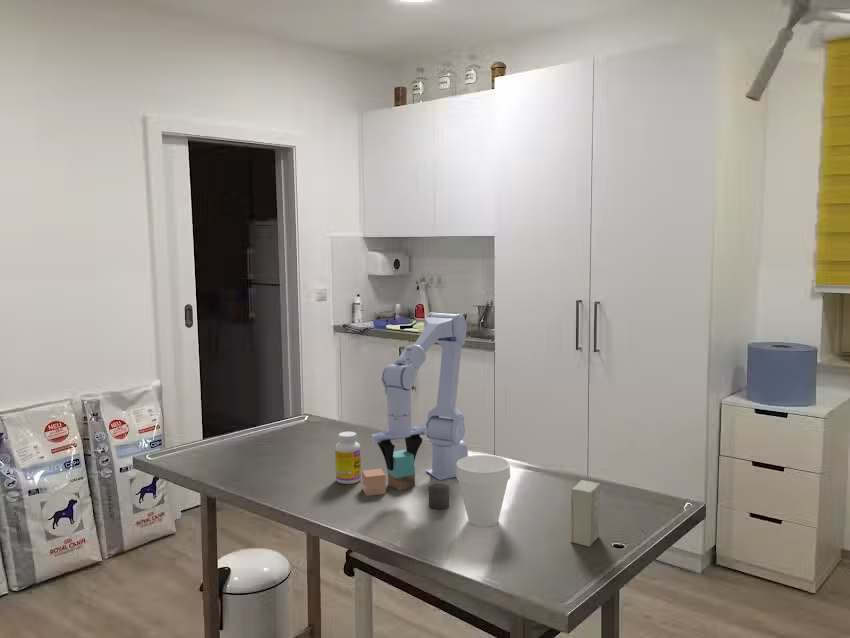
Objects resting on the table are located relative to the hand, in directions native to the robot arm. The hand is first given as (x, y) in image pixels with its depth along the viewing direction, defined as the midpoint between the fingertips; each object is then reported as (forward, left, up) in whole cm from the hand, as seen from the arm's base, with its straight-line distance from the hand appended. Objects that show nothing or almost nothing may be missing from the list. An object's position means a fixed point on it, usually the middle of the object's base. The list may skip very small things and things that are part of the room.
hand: (400, 467), depth 178 cm
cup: (-12, +20, -9) cm, 25 cm away
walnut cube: (-5, -10, -9) cm, 14 cm away
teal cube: (0, 0, -2) cm, 2 cm away
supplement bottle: (+6, -20, -9) cm, 23 cm away
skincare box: (-26, +39, -9) cm, 48 cm away
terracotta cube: (+3, -9, -9) cm, 13 cm away
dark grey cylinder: (-7, +8, -9) cm, 13 cm away
